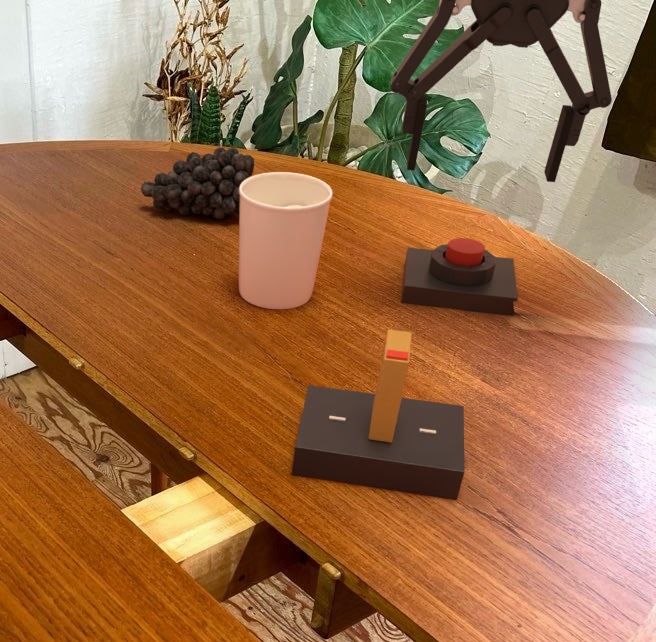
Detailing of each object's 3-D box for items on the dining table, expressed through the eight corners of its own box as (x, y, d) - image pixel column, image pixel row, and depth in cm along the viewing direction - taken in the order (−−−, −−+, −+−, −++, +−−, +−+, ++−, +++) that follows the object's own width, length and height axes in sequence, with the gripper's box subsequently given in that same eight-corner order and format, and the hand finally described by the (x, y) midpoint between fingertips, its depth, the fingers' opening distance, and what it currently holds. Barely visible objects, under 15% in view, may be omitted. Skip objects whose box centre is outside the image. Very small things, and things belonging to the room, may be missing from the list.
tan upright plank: (372, 407, 86) (388, 326, 81) (395, 411, 86) (412, 329, 80) (368, 439, 82) (384, 356, 77) (392, 443, 82) (409, 359, 77)
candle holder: (215, 283, 111) (221, 181, 103) (287, 266, 114) (298, 165, 106) (262, 321, 104) (272, 214, 96) (336, 301, 107) (351, 197, 100)
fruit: (137, 144, 119) (258, 148, 117) (146, 144, 127) (261, 148, 125) (135, 217, 122) (253, 222, 120) (144, 212, 130) (256, 217, 128)
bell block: (508, 276, 112) (517, 243, 110) (512, 316, 105) (522, 283, 102) (404, 264, 115) (410, 232, 112) (400, 303, 107) (407, 270, 105)
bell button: (481, 254, 109) (484, 239, 108) (481, 270, 106) (485, 255, 105) (444, 250, 109) (448, 236, 108) (444, 265, 106) (447, 251, 105)
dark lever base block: (456, 432, 88) (464, 404, 86) (456, 499, 81) (465, 470, 79) (304, 411, 91) (308, 383, 89) (291, 474, 83) (295, 445, 81)
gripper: (389, -71, 82) (353, 174, 96) (699, -57, 79) (615, 196, 92) (390, -85, 88) (356, 148, 102) (680, -73, 84) (603, 167, 98)
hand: (479, 171), depth 97 cm, fingers open, 13 cm apart
